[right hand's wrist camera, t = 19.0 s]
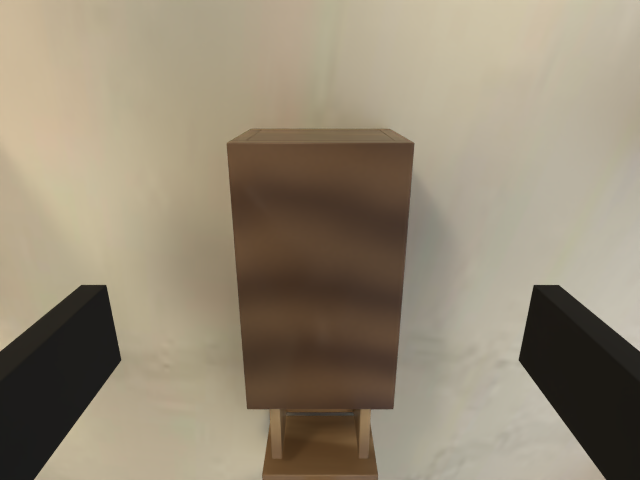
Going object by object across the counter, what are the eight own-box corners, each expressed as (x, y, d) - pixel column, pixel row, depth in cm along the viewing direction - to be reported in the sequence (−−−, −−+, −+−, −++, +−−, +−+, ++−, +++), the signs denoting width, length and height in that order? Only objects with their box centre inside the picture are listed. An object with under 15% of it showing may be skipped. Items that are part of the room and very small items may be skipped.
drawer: (366, 468, 41) (374, 533, 35) (273, 468, 41) (265, 532, 35) (377, 256, 33) (390, 293, 27) (262, 256, 33) (250, 293, 27)
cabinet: (378, 342, 37) (393, 409, 30) (262, 342, 37) (247, 409, 30) (390, 128, 31) (414, 142, 23) (250, 128, 31) (226, 142, 23)
